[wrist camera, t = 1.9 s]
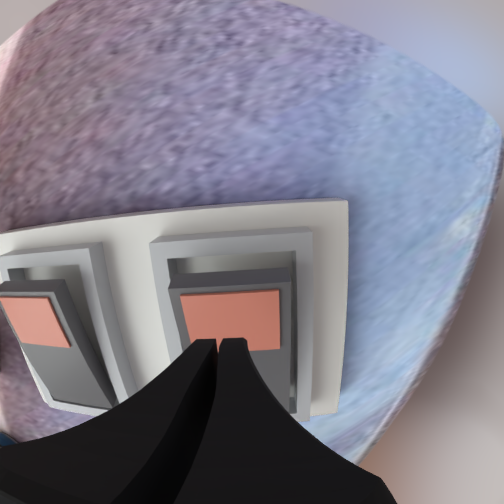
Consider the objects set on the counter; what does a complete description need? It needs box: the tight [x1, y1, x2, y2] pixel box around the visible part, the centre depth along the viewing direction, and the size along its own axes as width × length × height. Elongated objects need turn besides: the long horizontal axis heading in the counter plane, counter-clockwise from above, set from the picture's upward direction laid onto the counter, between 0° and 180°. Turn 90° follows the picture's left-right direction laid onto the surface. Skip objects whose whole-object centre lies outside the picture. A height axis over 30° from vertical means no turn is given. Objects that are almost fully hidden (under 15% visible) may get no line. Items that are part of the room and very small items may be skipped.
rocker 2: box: [168, 267, 291, 412], centre depth 15 cm, size 9×5×1 cm, turn 4°
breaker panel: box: [0, 198, 348, 422], centre depth 17 cm, size 14×23×4 cm, turn 94°
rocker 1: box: [0, 279, 117, 408], centre depth 15 cm, size 9×5×1 cm, turn 4°
